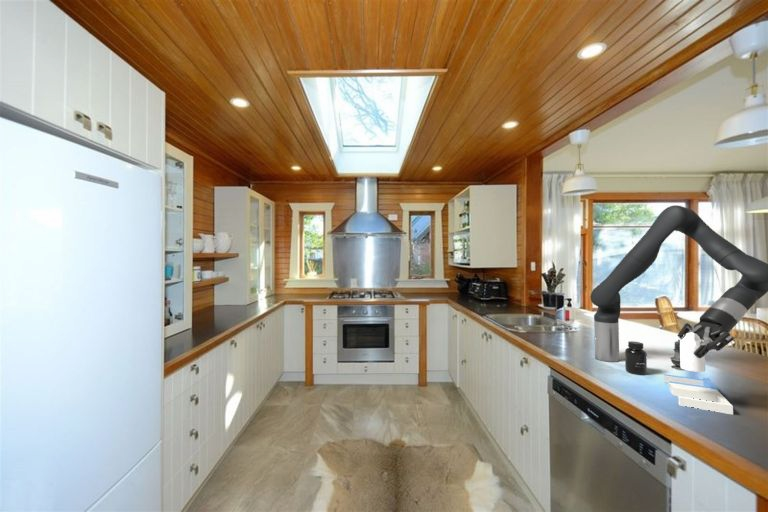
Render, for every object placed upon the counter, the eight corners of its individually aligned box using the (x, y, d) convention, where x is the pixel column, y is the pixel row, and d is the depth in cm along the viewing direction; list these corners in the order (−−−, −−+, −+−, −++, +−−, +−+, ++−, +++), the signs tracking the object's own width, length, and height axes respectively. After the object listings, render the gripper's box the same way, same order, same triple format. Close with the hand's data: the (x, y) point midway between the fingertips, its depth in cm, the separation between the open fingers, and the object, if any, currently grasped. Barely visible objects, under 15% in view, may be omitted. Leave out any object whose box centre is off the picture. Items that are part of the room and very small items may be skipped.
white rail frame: (679, 405, 101) (679, 394, 101) (664, 381, 121) (664, 372, 121) (734, 414, 95) (733, 402, 95) (708, 387, 114) (708, 377, 114)
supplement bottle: (641, 376, 126) (640, 345, 126) (622, 371, 132) (621, 341, 132) (650, 373, 129) (649, 343, 129) (631, 368, 135) (630, 339, 135)
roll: (699, 330, 105) (709, 334, 100) (699, 367, 105) (710, 373, 100) (676, 329, 107) (684, 333, 102) (676, 365, 107) (685, 371, 102)
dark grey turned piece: (693, 370, 131) (692, 341, 131) (676, 370, 132) (675, 340, 133) (682, 366, 137) (682, 337, 137) (666, 365, 138) (666, 337, 138)
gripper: (692, 303, 111) (659, 339, 110) (739, 310, 96) (701, 351, 96) (708, 319, 111) (674, 354, 110) (757, 328, 96) (719, 369, 96)
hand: (687, 352), depth 103 cm, fingers closed on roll, 5 cm apart
